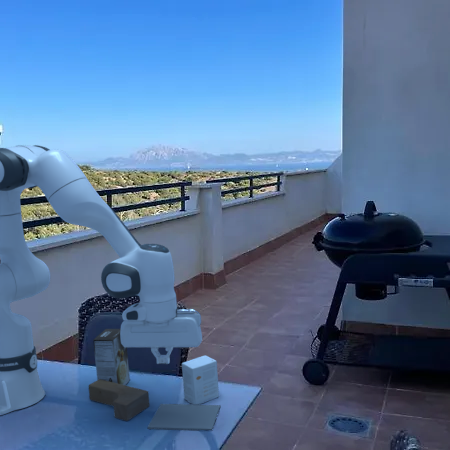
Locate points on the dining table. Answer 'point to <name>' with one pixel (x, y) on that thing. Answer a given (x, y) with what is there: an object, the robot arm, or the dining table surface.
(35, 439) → the dining table surface
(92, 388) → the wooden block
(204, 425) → the mat
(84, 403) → the dining table surface
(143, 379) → the dining table surface
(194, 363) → the small box
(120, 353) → the coffee box
